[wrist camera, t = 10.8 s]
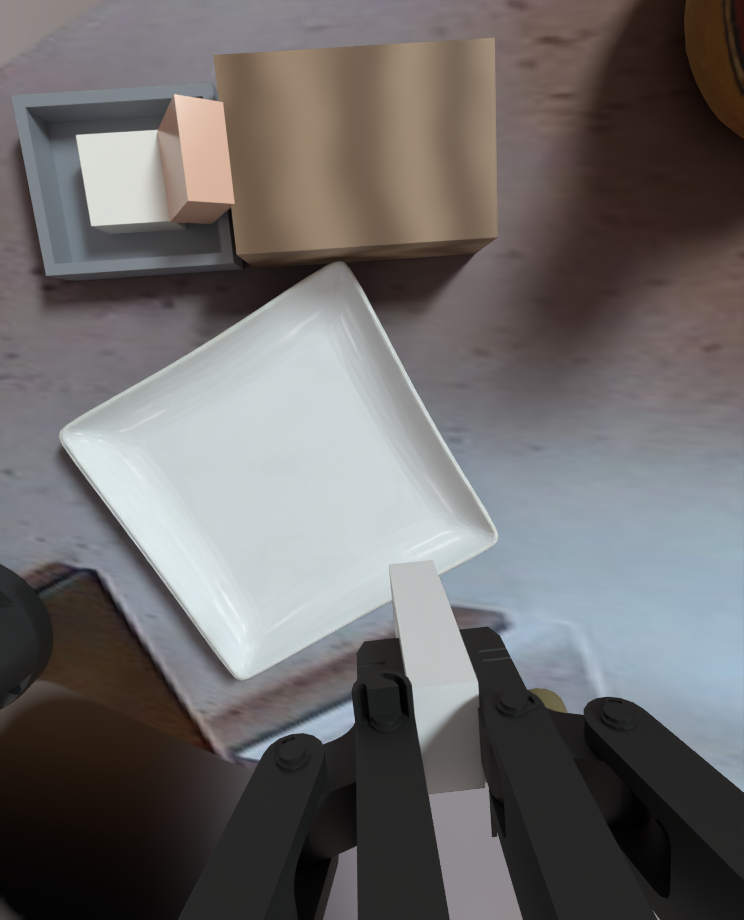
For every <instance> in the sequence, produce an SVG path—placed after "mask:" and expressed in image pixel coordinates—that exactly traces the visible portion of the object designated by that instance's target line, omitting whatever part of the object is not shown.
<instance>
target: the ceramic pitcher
mask: <svg viewBox="0 0 744 920" xmlns="http://www.w3.org/2000/svg"><path fill="white" fill-rule="evenodd" d="M684 28H685V42H686V52H687V56H688V60H689V64H690V67H691V70H692V73H693V75H694V78H695V81H696V83H697V85H698V87H699V89H700V91H701V93H702V95H703V97H704V99H705V100H706V102H707V104H708V105H709V107H710V108H711V110H712V111H713V112H714V113H715V115H716V116H717V117H718V118H719V120H720V121H721V122H723V123H724V124H725V125H726V126H727V127H728V128H730V129H731V130H732V131H733V132H735V133H736V134H737V135H739V136H740V137H742V138H743V139H744V0H686V4H685V17H684Z"/></svg>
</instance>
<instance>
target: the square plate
mask: <svg viewBox="0 0 744 920" xmlns="http://www.w3.org/2000/svg"><path fill="white" fill-rule="evenodd" d="M59 440H60V442H61V444H62V445H63V447H64V448H65V450H66V452H67V453H68V454H69V456H70V457H71V459H72V460H73V461H74V463H75V464H76V466H77V467H78V468H79V470H80V471H81V472H82V474H83V475H84V476H85V478H86V479H87V480H88V482H89V483H90V484H91V486H92V487H93V488H94V490H95V491H96V492H97V493H98V495H99V496H100V497H101V499H102V500H103V501H104V503H105V504H106V506H107V507H108V508H109V509H110V511H111V512H112V514H113V515H114V516H115V517H116V519H117V520H118V521H119V523H120V524H121V526H122V527H123V528H124V530H125V531H126V532H127V533H128V535H129V536H130V537H131V539H132V540H133V541H134V543H135V544H136V545H137V547H138V548H139V549H140V551H141V552H142V553H143V555H144V556H145V558H146V559H147V560H148V562H149V563H150V564H151V566H152V567H153V569H154V570H155V571H156V573H157V574H158V575H159V577H160V578H161V579H162V581H163V582H164V583H165V585H166V586H167V588H168V589H169V590H170V592H171V593H172V595H173V596H174V597H175V599H176V600H177V601H178V603H179V604H180V605H181V607H182V608H183V609H184V611H185V612H186V614H187V615H188V617H189V618H190V619H191V621H192V622H193V624H194V625H195V626H196V628H197V629H198V631H199V632H200V633H201V635H202V636H203V637H204V639H205V640H206V641H207V643H208V644H209V646H210V647H211V648H212V650H213V651H214V652H215V654H216V655H217V656H218V658H219V659H220V660H221V662H222V663H223V664H224V666H225V667H226V668H227V669H228V670H229V672H230V673H231V674H232V675H233V677H234V678H236V679H237V680H240V681H243V680H246V679H249V678H251V677H253V676H255V675H257V674H259V673H261V672H263V671H265V670H266V669H268V668H270V667H272V666H274V665H275V664H277V663H279V662H281V661H283V660H284V659H286V658H288V657H290V656H292V655H293V654H295V653H297V652H299V651H300V650H302V649H304V648H306V647H307V646H309V645H311V644H313V643H315V642H317V641H318V640H320V639H322V638H324V637H325V636H327V635H329V634H331V633H333V632H334V631H336V630H338V629H340V628H342V627H343V626H345V625H347V624H349V623H351V622H353V621H355V620H356V619H358V618H360V617H362V616H364V615H366V614H367V613H369V612H371V611H373V610H375V609H377V608H379V607H381V606H383V605H384V604H386V603H388V602H390V601H392V594H391V584H390V574H389V565H388V564H398V563H407V562H416V561H425V560H433V562H434V564H435V567H436V570H437V572H438V575H439V576H440V575H442V574H444V573H445V572H447V571H449V570H451V569H453V568H455V567H457V566H459V565H461V564H462V563H464V562H466V561H468V560H469V559H471V558H473V557H475V556H477V555H479V554H480V553H482V552H484V551H486V550H487V549H489V548H491V547H492V546H493V545H494V544H496V542H497V540H498V533H497V530H496V528H495V526H494V524H493V522H492V520H491V519H490V517H489V515H488V513H487V511H486V509H485V507H484V506H483V504H482V503H481V501H480V499H479V498H478V496H477V495H476V493H475V491H474V490H473V488H472V486H471V485H470V483H469V482H468V480H467V478H466V477H465V475H464V473H463V472H462V470H461V468H460V467H459V465H458V463H457V462H456V460H455V458H454V457H453V455H452V453H451V451H450V450H449V448H448V446H447V445H446V443H445V442H444V440H443V438H442V437H441V435H440V433H439V431H438V430H437V428H436V426H435V424H434V422H433V421H432V419H431V417H430V415H429V414H428V412H427V410H426V408H425V406H424V404H423V403H422V401H421V399H420V397H419V395H418V393H417V392H416V390H415V388H414V386H413V384H412V382H411V380H410V378H409V377H408V375H407V373H406V371H405V369H404V367H403V365H402V363H401V361H400V360H399V358H398V356H397V354H396V352H395V350H394V348H393V346H392V345H391V342H390V340H389V338H388V336H387V334H386V332H385V331H384V329H383V327H382V325H381V323H380V321H379V319H378V318H377V316H376V314H375V312H374V310H373V308H372V306H371V304H370V302H369V301H368V299H367V297H366V295H365V293H364V291H363V289H362V287H361V286H360V284H359V282H358V280H357V279H356V277H355V275H354V274H353V272H352V271H351V269H350V268H349V267H348V266H347V264H346V263H345V262H343V261H335V262H333V263H330V264H328V265H326V266H325V267H323V268H321V269H319V270H318V271H316V272H314V273H313V274H311V275H309V276H308V277H306V278H305V279H303V280H301V281H300V282H298V283H297V284H295V285H294V286H292V287H291V288H289V289H288V290H286V291H285V292H283V293H282V294H280V295H279V296H277V297H276V298H274V299H273V300H271V301H270V302H268V303H267V304H265V305H264V306H262V307H261V308H259V309H258V310H256V311H255V312H253V313H252V314H250V315H249V316H247V317H246V318H244V319H242V320H241V321H239V322H238V323H236V324H235V325H233V326H231V327H230V328H228V329H227V330H225V331H224V332H222V333H221V334H219V335H218V336H216V337H214V338H213V339H211V340H210V341H208V342H206V343H205V344H203V345H202V346H200V347H199V348H197V349H195V350H194V351H192V352H191V353H189V354H187V355H185V356H184V357H182V358H180V359H179V360H177V361H175V362H174V363H172V364H170V365H169V366H167V367H165V368H164V369H162V370H160V371H158V372H157V373H155V374H153V375H151V376H150V377H148V378H146V379H144V380H143V381H141V382H139V383H137V384H136V385H134V386H132V387H130V388H129V389H127V390H125V391H123V392H121V393H120V394H118V395H116V396H114V397H113V398H111V399H109V400H107V401H106V402H104V403H102V404H100V405H98V406H97V407H95V408H93V409H92V410H90V411H88V412H86V413H85V414H83V415H81V416H80V417H78V418H76V419H75V420H73V421H72V422H70V423H69V424H68V425H66V426H65V427H64V428H63V429H62V430H61V431H60V433H59Z"/></svg>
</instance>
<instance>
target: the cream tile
mask: <svg viewBox="0 0 744 920" xmlns="http://www.w3.org/2000/svg"><path fill="white" fill-rule="evenodd" d="M76 139H77V145H78V151H79V157H80V163H81V169H82V175H83V180H84V186H85V192H86V198H87V204H88V210H89V216H90V222H91V226H92V227H95V228H97V229H99V230H101V231H104V232H106V233H108V234H122V233H138V232H153V231H169V230H184V229H187V228H186V223H178V222H170V218H169V211H168V204H167V197H166V190H165V183H164V176H163V169H162V161H161V154H160V147H159V140H158V133H157V130H147V131H131V132H115V133H99V134H83V135H76Z"/></svg>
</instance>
